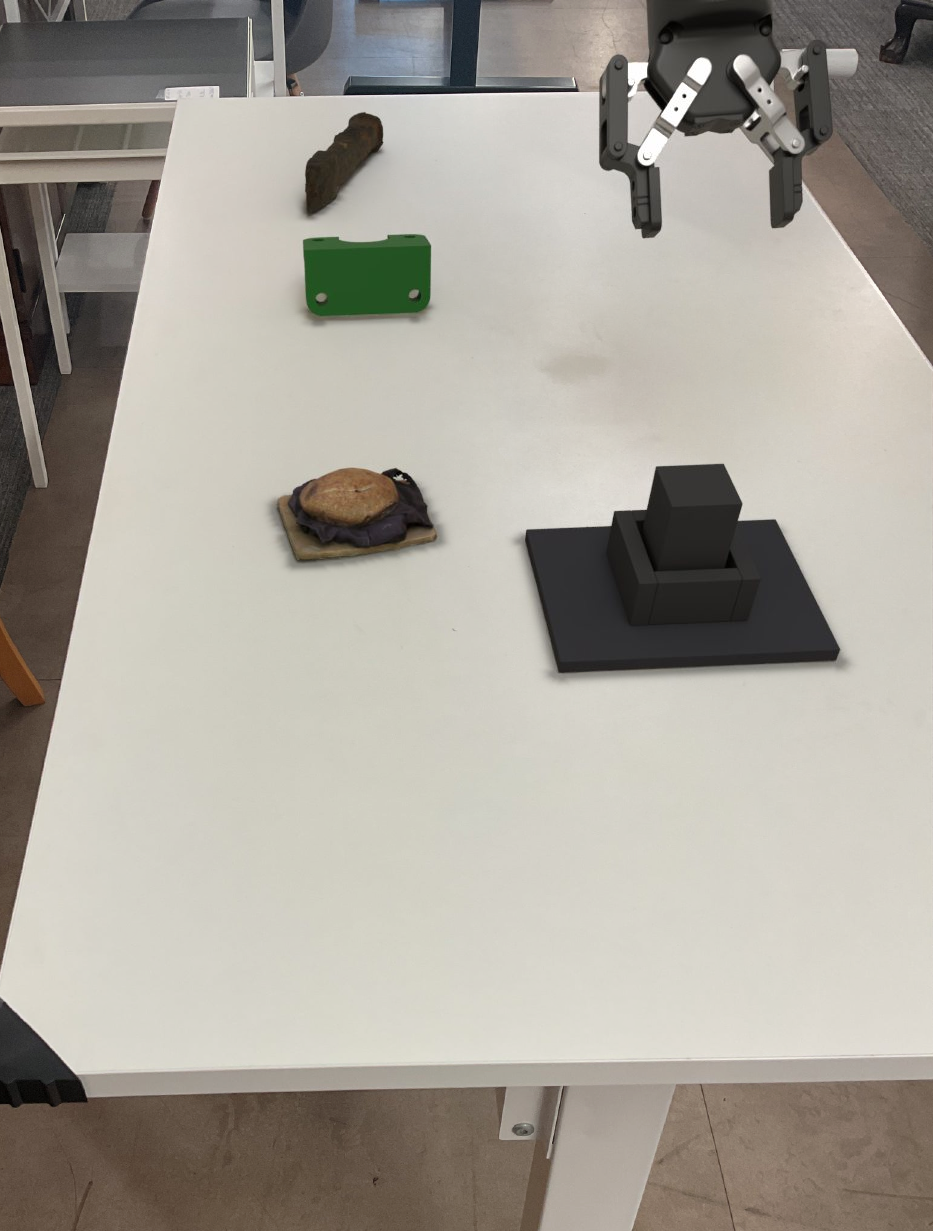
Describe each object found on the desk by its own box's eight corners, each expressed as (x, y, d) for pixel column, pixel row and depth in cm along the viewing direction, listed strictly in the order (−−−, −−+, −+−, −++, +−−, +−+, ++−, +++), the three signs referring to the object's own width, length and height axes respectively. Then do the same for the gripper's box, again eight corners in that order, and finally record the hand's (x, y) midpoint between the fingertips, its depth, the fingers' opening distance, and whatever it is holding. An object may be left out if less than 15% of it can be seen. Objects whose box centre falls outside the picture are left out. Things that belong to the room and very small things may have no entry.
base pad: (772, 530, 86) (789, 476, 82) (836, 660, 76) (858, 606, 73) (524, 540, 85) (531, 486, 82) (558, 673, 76) (567, 619, 72)
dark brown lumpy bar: (351, 146, 134) (350, 102, 131) (384, 151, 133) (384, 106, 130) (283, 214, 122) (280, 166, 119) (319, 219, 121) (317, 172, 118)
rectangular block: (697, 564, 81) (724, 463, 75) (714, 605, 78) (743, 503, 73) (634, 566, 81) (655, 465, 75) (648, 608, 78) (672, 506, 72)
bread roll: (296, 569, 83) (294, 526, 80) (274, 500, 89) (271, 457, 86) (442, 546, 85) (444, 503, 82) (411, 479, 90) (412, 437, 87)
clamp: (402, 336, 114) (441, 241, 109) (408, 352, 109) (449, 253, 104) (284, 288, 111) (319, 188, 106) (285, 302, 106) (322, 198, 101)
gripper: (609, -71, 70) (624, 219, 72) (846, -89, 70) (853, 201, 73) (579, -5, 77) (593, 256, 80) (794, -22, 78) (802, 239, 80)
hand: (717, 229), depth 76 cm, fingers open, 8 cm apart
